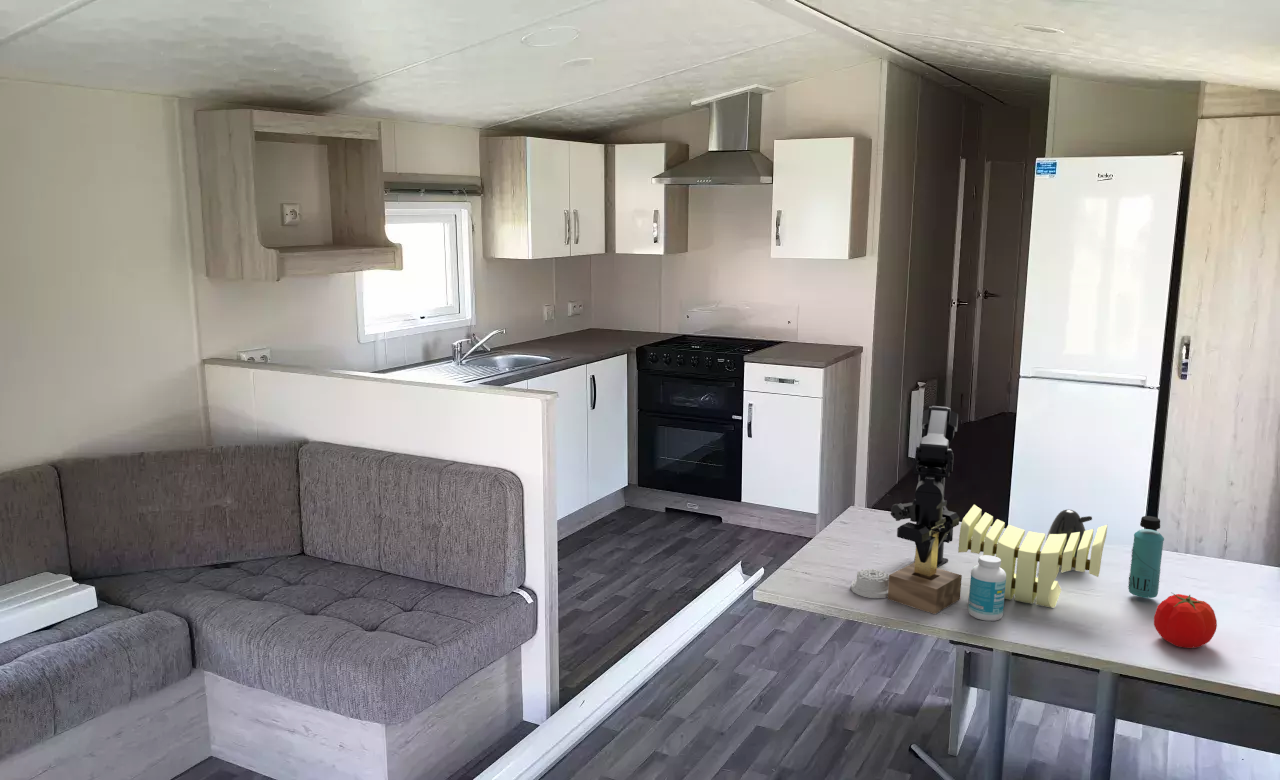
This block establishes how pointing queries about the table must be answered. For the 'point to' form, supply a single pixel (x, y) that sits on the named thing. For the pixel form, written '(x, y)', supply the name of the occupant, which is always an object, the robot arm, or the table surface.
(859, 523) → the table surface
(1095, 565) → the slatted curved stool
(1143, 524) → the beverage bottle
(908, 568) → the slotted wooden block
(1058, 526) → the pump dispenser
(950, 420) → the robot arm
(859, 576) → the mechanical component
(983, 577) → the pill bottle
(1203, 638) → the tomato
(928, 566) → the brushed gold block
